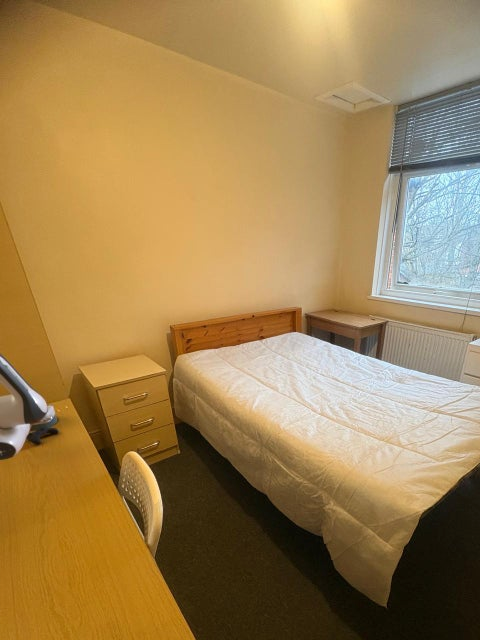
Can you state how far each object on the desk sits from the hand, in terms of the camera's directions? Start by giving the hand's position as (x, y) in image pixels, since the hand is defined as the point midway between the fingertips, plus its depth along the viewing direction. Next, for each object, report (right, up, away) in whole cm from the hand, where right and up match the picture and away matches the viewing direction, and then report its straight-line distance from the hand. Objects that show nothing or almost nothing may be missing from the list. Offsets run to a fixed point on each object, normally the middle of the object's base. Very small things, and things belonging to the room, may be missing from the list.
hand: (22, 408), depth 116 cm
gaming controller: (+2, -12, +6) cm, 14 cm away
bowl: (-6, -7, +15) cm, 18 cm away
